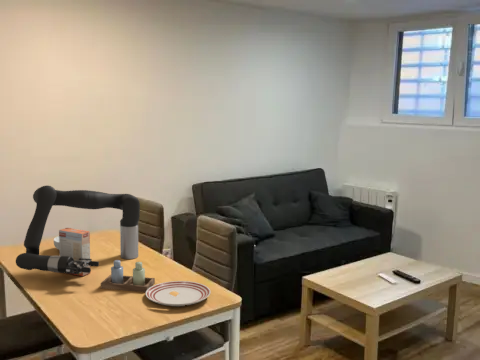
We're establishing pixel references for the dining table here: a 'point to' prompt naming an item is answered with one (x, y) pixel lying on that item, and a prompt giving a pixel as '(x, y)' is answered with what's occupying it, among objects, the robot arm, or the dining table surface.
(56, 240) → the cereal bowl
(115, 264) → the blue bottle
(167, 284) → the dinner plate
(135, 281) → the green bottle
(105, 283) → the caddy
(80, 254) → the cracker box
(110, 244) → the dining table surface
